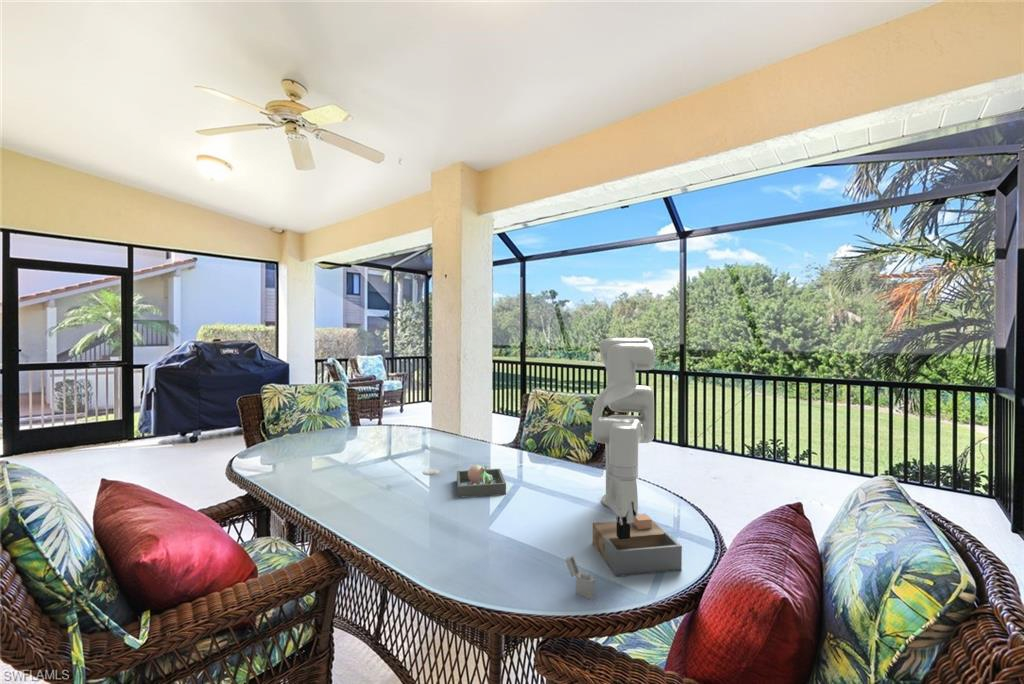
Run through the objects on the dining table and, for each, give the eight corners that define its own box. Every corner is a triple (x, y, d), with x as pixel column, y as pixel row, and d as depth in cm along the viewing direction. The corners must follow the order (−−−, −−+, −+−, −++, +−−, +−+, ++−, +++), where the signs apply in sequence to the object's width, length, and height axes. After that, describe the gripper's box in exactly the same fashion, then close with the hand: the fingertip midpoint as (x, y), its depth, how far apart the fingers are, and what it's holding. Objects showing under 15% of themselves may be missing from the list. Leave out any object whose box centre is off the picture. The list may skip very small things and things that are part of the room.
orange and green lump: (490, 478, 172) (502, 474, 179) (474, 458, 176) (487, 455, 184) (472, 499, 175) (485, 494, 183) (457, 479, 179) (471, 475, 187)
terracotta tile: (632, 522, 133) (632, 514, 132) (645, 521, 133) (645, 513, 133) (638, 529, 129) (638, 520, 128) (651, 528, 129) (651, 519, 129)
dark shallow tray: (456, 480, 187) (456, 471, 187) (500, 478, 189) (500, 468, 189) (458, 497, 169) (458, 486, 169) (506, 494, 172) (505, 483, 171)
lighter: (594, 596, 107) (594, 563, 107) (591, 599, 106) (591, 566, 106) (568, 585, 112) (568, 554, 111) (565, 589, 110) (565, 556, 110)
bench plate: (592, 542, 133) (592, 522, 133) (650, 538, 136) (650, 518, 135) (604, 560, 123) (604, 538, 123) (666, 554, 126) (666, 533, 126)
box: (604, 560, 123) (604, 537, 123) (666, 554, 126) (666, 532, 126) (615, 576, 115) (615, 551, 115) (681, 570, 118) (681, 546, 118)
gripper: (600, 462, 128) (600, 526, 128) (620, 480, 113) (620, 552, 114) (625, 461, 129) (625, 524, 130) (649, 478, 114) (648, 550, 115)
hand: (623, 537), depth 122 cm, fingers closed
